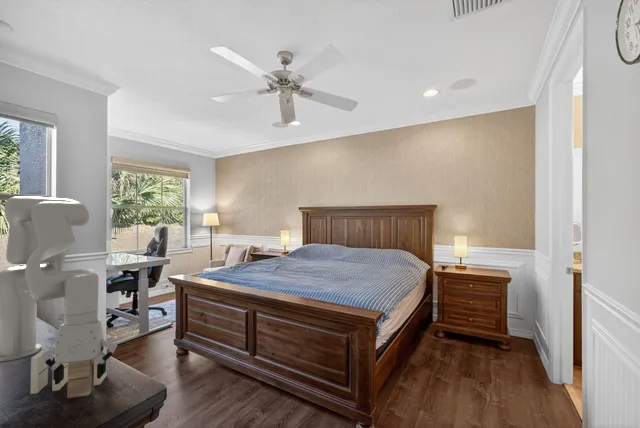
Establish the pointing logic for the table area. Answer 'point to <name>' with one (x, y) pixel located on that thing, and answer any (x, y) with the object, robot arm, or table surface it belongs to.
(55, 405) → the table surface
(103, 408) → the table surface
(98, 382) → the domino
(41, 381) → the domino
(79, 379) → the domino
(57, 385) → the domino
